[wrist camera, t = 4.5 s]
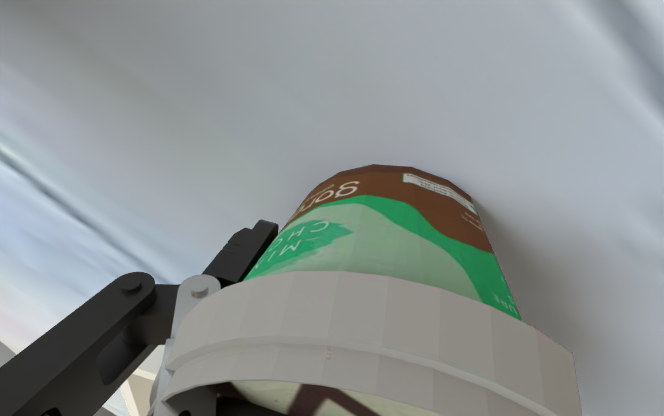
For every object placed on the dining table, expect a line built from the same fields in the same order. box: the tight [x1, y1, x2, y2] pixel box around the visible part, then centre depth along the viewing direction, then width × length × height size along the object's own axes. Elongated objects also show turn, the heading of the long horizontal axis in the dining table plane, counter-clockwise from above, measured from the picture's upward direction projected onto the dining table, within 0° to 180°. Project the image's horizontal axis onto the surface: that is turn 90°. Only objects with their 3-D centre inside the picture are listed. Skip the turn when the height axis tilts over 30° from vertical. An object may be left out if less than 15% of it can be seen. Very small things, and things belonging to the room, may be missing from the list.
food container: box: [146, 164, 582, 416], centre depth 12 cm, size 12×6×10 cm, turn 143°
